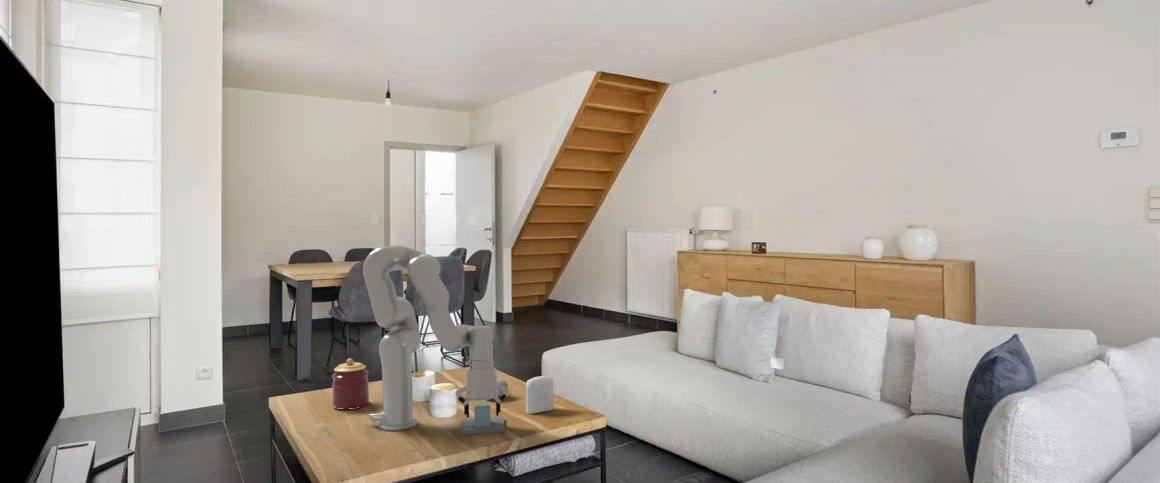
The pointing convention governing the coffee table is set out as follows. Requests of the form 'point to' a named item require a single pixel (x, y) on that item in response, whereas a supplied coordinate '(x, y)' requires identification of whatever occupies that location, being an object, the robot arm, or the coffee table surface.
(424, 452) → the coffee table surface
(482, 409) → the blue block
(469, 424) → the slate pad
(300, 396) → the coffee table surface
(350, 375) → the canister
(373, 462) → the coffee table surface
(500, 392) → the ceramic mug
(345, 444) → the coffee table surface
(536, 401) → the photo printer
